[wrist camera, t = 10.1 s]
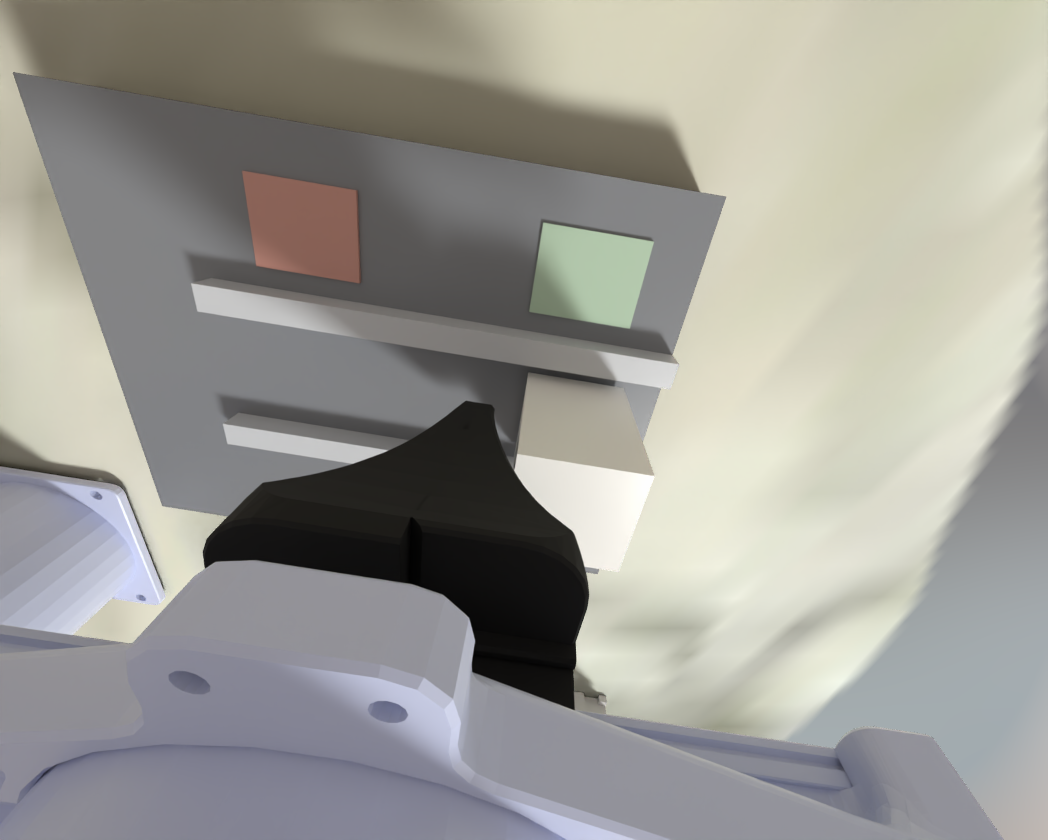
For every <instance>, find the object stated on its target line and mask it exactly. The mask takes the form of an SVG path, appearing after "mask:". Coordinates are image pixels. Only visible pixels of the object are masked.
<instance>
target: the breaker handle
mask: <svg viewBox="0 0 1048 840" xmlns="http://www.w3.org/2000/svg"><path fill="white" fill-rule="evenodd" d="M513 470H514V471H515V473H516V475H517V476H518V478H519V479H520V481H521V482H522V484H523V485H524V486H525V488H526V489H527V490H528V491H529V492H530V494H531V495H532V496H533V497H534V498H535V500H536V501H537V502H538V503H539V504H540V505H541V506H542V507H544V508H545V509H546V510H547V511H548V512H549V513H550V514H551V515H552V516H554V517H555V518H556V519H558V520H559V521H560V522H561V523H563V524H564V525H565V526H567V527H568V528H569V529H570V530H572V531H573V533H574V534H575V537H576V540H577V543H578V546H579V549H580V552H581V555H582V559H583V562H584V567H589V568H596V569H602V570H609V571H615V572H619V570H620V567H621V565H622V562H623V559H624V557H625V554H626V551H627V549H628V546H629V543H630V541H631V538H632V535H633V533H634V530H635V527H636V525H637V522H638V519H639V517H640V514H641V511H642V509H643V506H644V503H645V501H646V498H647V495H648V493H649V490H650V487H651V485H652V482H653V479H654V477H655V476H654V473H653V470H652V467H651V464H650V462H649V459H648V456H647V453H646V450H645V447H644V445H643V442H642V439H641V436H640V433H639V430H638V428H637V425H636V422H635V419H634V416H633V413H632V411H631V408H630V405H629V402H628V399H627V396H626V394H625V391H624V388H620V387H614V386H608V385H602V384H596V383H590V382H584V381H578V380H572V379H566V378H560V377H554V376H548V375H542V374H536V373H530V372H528V377H527V383H526V389H525V395H524V401H523V407H522V413H521V419H520V425H519V431H518V436H517V442H516V448H515V455H514V461H513Z"/></svg>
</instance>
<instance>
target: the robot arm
mask: <svg viewBox="0 0 1048 840" xmlns="http://www.w3.org/2000/svg"><path fill="white" fill-rule="evenodd" d="M494 412H495V409H494V407H493V406H492V405H490V404H484V403H478V402H472V401H465V402H463V403H462V404H461V405H459V406H458V407H457V408H455V409H454V410H453V411H452V412H450V413H449V414H448V415H447V416H445V417H444V418H443V419H441V420H440V421H438V422H437V423H436V424H434V425H433V426H431V427H430V428H428V429H427V430H425V431H424V432H422V433H421V434H419V435H417V436H416V437H414V438H412V439H411V440H409V441H407V442H405V443H403V444H401V445H399V446H397V447H395V448H393V449H390V450H388V451H386V452H384V453H381V454H379V455H376V456H373V457H370V458H367V459H365V460H362V461H359V462H356V463H354V464H350V465H347V466H343V467H340V468H336V469H333V470H328V471H324V472H320V473H316V474H311V475H306V476H301V477H295V478H289V479H283V480H277V481H271V482H263V483H262V484H261V485H259V486H258V487H257V488H256V489H255V490H254V491H253V492H252V493H251V494H250V495H249V496H248V497H246V498H245V499H244V500H243V502H242V503H241V504H240V505H239V506H238V507H237V508H236V509H235V510H234V511H233V512H232V513H231V514H230V515H229V516H228V517H227V518H226V519H225V520H224V521H223V522H222V523H221V524H220V525H219V526H218V527H217V528H216V529H215V531H214V532H213V533H212V534H211V535H210V536H209V537H208V538H207V540H206V543H205V547H204V550H203V558H204V566H205V569H204V570H203V571H201V572H200V573H198V574H197V575H196V576H194V577H193V578H192V579H191V581H190V582H189V583H188V584H187V585H186V586H185V587H184V588H183V589H182V590H181V591H180V592H179V594H178V595H177V596H176V597H175V598H174V599H173V600H172V601H171V602H170V603H169V604H168V605H167V607H166V608H165V609H164V610H163V611H162V612H161V613H160V614H159V615H158V616H157V617H156V618H155V619H154V621H153V622H152V623H151V624H150V625H149V626H148V627H147V628H146V629H145V630H144V631H143V632H142V634H141V635H140V636H139V637H138V638H137V639H136V640H135V641H134V642H133V643H122V642H115V641H109V640H102V639H95V638H88V637H82V636H75V635H73V634H74V633H75V632H76V631H77V630H78V629H79V628H80V627H82V626H83V625H84V624H85V623H86V622H87V621H88V620H89V619H90V618H91V617H92V616H93V615H94V614H96V613H97V612H98V611H99V610H100V609H101V608H102V607H103V606H104V605H105V604H106V603H107V602H109V601H110V600H111V599H118V600H125V601H131V602H138V603H145V604H151V605H158V604H160V603H161V602H162V601H163V600H164V599H165V593H164V590H163V588H162V585H161V583H160V580H159V578H158V575H157V573H156V570H155V567H154V565H153V562H152V560H151V557H150V555H149V552H148V550H147V547H146V545H145V542H144V539H143V537H142V534H141V532H140V529H139V527H138V524H137V522H136V519H135V517H134V514H133V511H132V509H131V506H130V504H129V501H128V499H127V496H126V494H125V492H124V490H123V489H122V488H121V487H119V486H117V485H114V484H110V483H104V482H97V481H91V480H84V479H78V478H72V477H65V476H59V475H53V474H46V473H40V472H33V471H27V470H21V469H14V468H8V467H2V466H0V840H1004V839H1003V838H1002V837H1001V835H1000V834H999V832H998V831H997V829H996V828H995V826H994V825H993V823H992V822H991V821H990V819H989V818H988V817H987V815H986V813H985V812H984V810H983V809H982V808H981V806H980V805H979V803H978V802H977V800H976V799H975V797H974V796H973V795H972V793H971V792H970V790H969V789H968V787H967V786H966V784H965V783H964V782H963V780H962V779H961V778H960V776H959V774H958V773H957V771H956V770H955V769H954V767H953V766H952V764H951V763H950V761H949V760H948V759H947V757H946V756H945V754H944V753H943V751H942V750H941V748H940V747H939V745H938V744H937V743H936V741H935V740H934V738H933V737H930V736H928V735H926V734H920V733H913V732H906V731H900V730H893V729H887V728H880V727H860V728H856V729H853V730H851V731H849V732H848V733H846V734H845V735H844V736H843V737H842V738H841V739H840V740H839V742H838V743H837V745H836V747H835V748H827V747H821V746H814V745H808V744H801V743H794V742H787V741H781V740H774V739H767V738H761V737H754V736H747V735H740V734H734V733H727V732H720V731H714V730H707V729H700V728H693V727H687V726H680V725H673V724H666V723H660V722H653V721H646V720H640V719H633V718H626V717H619V716H613V715H606V714H599V713H593V712H586V711H579V710H575V702H574V678H573V670H574V669H575V666H576V639H577V636H578V633H579V631H580V628H581V625H582V622H583V619H584V616H585V613H586V610H587V606H588V599H589V589H588V581H587V575H586V571H585V567H584V562H583V559H582V555H581V552H580V549H579V546H578V543H577V540H576V537H575V534H574V533H573V531H572V530H570V529H569V528H568V527H567V526H565V525H564V524H563V523H561V522H560V521H559V520H558V519H556V518H555V517H554V516H552V515H551V514H550V513H549V512H548V511H547V510H546V509H545V508H544V507H542V506H541V505H540V504H539V503H538V502H537V501H536V500H535V498H534V497H533V496H532V495H531V494H530V492H529V491H528V490H527V489H526V488H525V486H524V485H523V484H522V482H521V481H520V479H519V478H518V476H517V475H516V473H515V471H514V470H513V468H512V466H511V464H510V462H509V460H508V458H507V456H506V454H505V452H504V450H503V447H502V445H501V442H500V439H499V436H498V433H497V429H496V425H495V419H494Z"/></svg>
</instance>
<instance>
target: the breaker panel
mask: <svg viewBox="0 0 1048 840" xmlns="http://www.w3.org/2000/svg"><path fill="white" fill-rule="evenodd" d="M13 75H14V78H15V81H16V84H17V87H18V89H19V92H20V95H21V98H22V101H23V104H24V107H25V110H26V113H27V116H28V118H29V121H30V124H31V127H32V130H33V133H34V136H35V139H36V142H37V144H38V147H39V150H40V153H41V156H42V159H43V162H44V165H45V168H46V171H47V173H48V176H49V179H50V182H51V185H52V188H53V191H54V194H55V197H56V199H57V202H58V205H59V208H60V211H61V214H62V217H63V220H64V223H65V226H66V228H67V231H68V234H69V237H70V240H71V243H72V246H73V249H74V252H75V254H76V257H77V260H78V263H79V266H80V269H81V272H82V275H83V278H84V281H85V283H86V286H87V289H88V292H89V295H90V298H91V301H92V304H93V307H94V310H95V312H96V315H97V318H98V321H99V324H100V327H101V330H102V333H103V336H104V338H105V341H106V344H107V347H108V350H109V353H110V356H111V359H112V362H113V365H114V367H115V370H116V373H117V376H118V379H119V382H120V385H121V388H122V391H123V393H124V396H125V399H126V402H127V405H128V408H129V411H130V414H131V417H132V420H133V422H134V425H135V428H136V431H137V434H138V437H139V440H140V443H141V446H142V448H143V451H144V454H145V457H146V460H147V463H148V466H149V469H150V472H151V475H152V477H153V480H154V483H155V486H156V489H157V492H158V495H159V498H160V501H161V503H162V506H165V507H172V508H178V509H184V510H191V511H197V512H204V513H210V514H216V515H223V516H229V515H230V514H231V513H232V512H233V511H234V510H235V509H236V508H237V507H238V506H239V505H240V504H241V503H242V502H243V500H244V499H245V498H246V497H248V496H249V495H250V494H251V493H252V492H253V491H254V490H255V489H256V488H257V487H258V486H259V485H261V484H262V483H263V482H271V481H277V480H283V479H289V478H295V477H301V476H306V475H311V474H316V473H320V472H324V471H328V470H333V469H336V468H340V467H343V466H347V465H350V464H354V463H356V462H359V461H362V460H365V459H367V458H370V457H373V456H376V455H379V454H381V453H384V452H386V451H388V450H390V449H393V448H395V447H397V446H399V445H401V444H403V443H405V442H407V441H409V440H411V439H412V438H414V437H416V436H417V435H419V434H421V433H422V432H424V431H425V430H427V429H428V428H430V427H431V426H433V425H434V424H436V423H437V422H438V421H440V420H441V419H443V418H444V417H445V416H447V415H448V414H449V413H450V412H452V411H453V410H454V409H455V408H457V407H458V406H459V405H461V404H462V403H463V402H465V401H472V402H478V403H484V404H490V405H492V406H493V407H494V409H495V412H494V419H495V425H496V429H497V433H498V436H499V439H500V442H501V445H502V447H503V450H504V452H505V454H506V456H507V458H508V460H509V462H510V464H511V466H512V468H513V461H514V455H515V448H516V442H517V436H518V431H519V425H520V419H521V413H522V407H523V401H524V395H525V389H526V383H527V377H528V372H530V373H536V374H542V375H548V376H554V377H560V378H566V379H572V380H578V381H584V382H590V383H596V384H602V385H608V386H614V387H620V388H624V391H625V394H626V396H627V399H628V402H629V405H630V408H631V411H632V413H633V416H634V419H635V422H636V425H637V428H638V430H639V433H640V436H641V439H642V442H643V439H644V437H645V434H646V431H647V428H648V425H649V422H650V419H651V416H652V413H653V410H654V407H655V404H656V401H657V398H658V396H659V393H660V390H661V388H664V389H671V386H672V384H673V381H674V378H675V375H676V372H677V369H678V367H679V364H678V362H677V361H676V359H675V358H674V357H673V355H672V354H673V352H674V349H675V346H676V343H677V340H678V337H679V334H680V331H681V328H682V325H683V322H684V319H685V316H686V313H687V310H688V308H689V305H690V302H691V299H692V296H693V293H694V290H695V287H696V284H697V281H698V278H699V275H700V272H701V269H702V267H703V264H704V261H705V258H706V255H707V252H708V249H709V246H710V243H711V240H712V237H713V234H714V231H715V228H716V225H717V223H718V220H719V217H720V214H721V211H722V208H723V205H724V202H725V199H726V197H725V196H719V195H713V194H707V193H702V192H696V191H690V190H685V189H679V188H673V187H667V186H662V185H656V184H650V183H644V182H639V181H633V180H627V179H622V178H616V177H610V176H604V175H599V174H593V173H587V172H582V171H576V170H570V169H564V168H559V167H553V166H547V165H542V164H536V163H530V162H524V161H519V160H513V159H507V158H501V157H496V156H490V155H484V154H479V153H473V152H467V151H461V150H456V149H450V148H444V147H439V146H433V145H427V144H421V143H416V142H410V141H404V140H398V139H393V138H387V137H381V136H376V135H370V134H364V133H358V132H353V131H347V130H341V129H336V128H330V127H324V126H318V125H313V124H307V123H301V122H296V121H290V120H284V119H278V118H273V117H267V116H261V115H255V114H250V113H244V112H238V111H233V110H227V109H221V108H215V107H210V106H204V105H198V104H193V103H187V102H181V101H175V100H170V99H164V98H158V97H153V96H147V95H141V94H135V93H130V92H124V91H118V90H112V89H107V88H101V87H95V86H90V85H84V84H78V83H72V82H67V81H61V80H55V79H50V78H44V77H38V76H32V75H27V74H21V73H15V72H13ZM585 571H586V572H588V573H594V574H598V571H599V569H596V568H589V567H585Z"/></svg>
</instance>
